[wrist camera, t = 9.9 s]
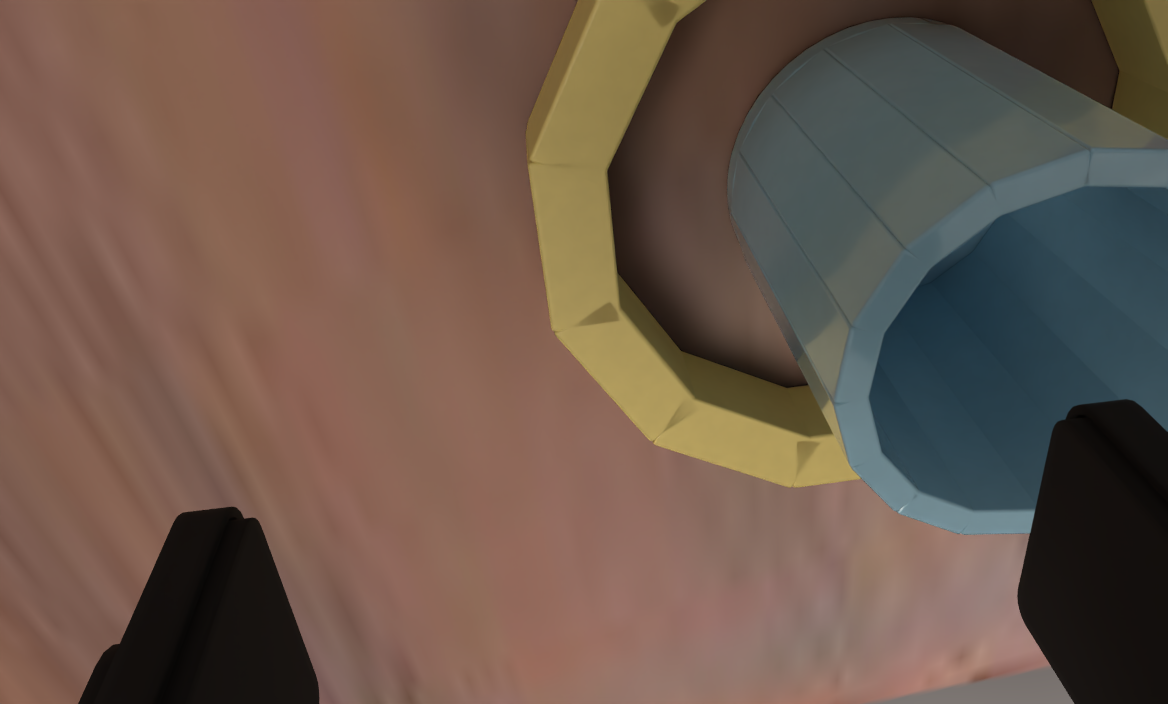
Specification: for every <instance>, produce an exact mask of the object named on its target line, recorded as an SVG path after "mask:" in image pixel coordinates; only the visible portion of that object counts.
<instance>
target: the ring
mask: <svg viewBox="0 0 1168 704" xmlns="http://www.w3.org/2000/svg"><path fill="white" fill-rule="evenodd" d="M705 1H706V0H578V2H577V4H576V6H575V9H574V11H573V14H572V16H571V19H570V21H569V23H568V26H567V28H566V31H565V33H564V35H563V38H562V40H561V43H560V45H559V47H558V50H557V52H556V55H555V57H554V60H553V62H552V64H551V67H550V69H549V72H548V74H547V76H546V79H545V81H544V84H543V86H542V88H541V91H540V93H539V96H538V98H537V101H536V103H535V105H534V108H533V110H532V113H531V115H530V117H529V120H528V122H527V130H526V132H525V134H526V148H527V163H528V171H529V178H530V185H531V192H532V199H533V206H534V213H535V219H536V226H537V233H538V240H539V247H540V254H541V261H542V268H543V274H544V281H545V288H546V295H547V302H548V309H549V316H550V323H551V329H552V330H553V331H554V333H555V335H556V337H557V338H558V339H559V340H560V341H561V342H562V343H563V344H564V346H565V347H566V348H567V349H568V350H569V351H570V352H571V353H572V354H573V356H574V357H575V358H576V359H577V360H578V361H579V362H580V363H581V365H582V366H583V367H584V368H585V369H586V370H587V371H588V372H589V374H590V375H591V376H592V377H593V378H594V379H595V380H596V381H597V382H598V384H599V385H600V386H601V387H602V388H603V389H604V390H605V391H606V393H607V394H608V395H609V396H610V397H611V398H612V399H613V400H614V401H615V403H616V404H617V405H618V406H619V407H620V408H621V409H622V410H623V412H624V413H625V414H626V415H627V416H628V417H629V418H630V419H631V421H632V422H633V423H634V424H635V425H636V426H637V427H638V428H639V429H640V431H641V432H642V433H643V434H644V435H645V436H646V437H647V438H648V439H649V440H650V441H653V444H654V445H657V446H660V447H663V448H666V449H669V450H672V451H676V452H679V453H682V454H685V455H688V456H691V457H694V458H698V459H701V460H704V461H707V462H710V463H713V464H717V465H720V466H723V467H726V468H729V469H732V470H736V471H739V472H742V473H745V474H748V475H751V476H754V477H758V478H761V479H764V480H767V481H770V482H773V483H777V484H780V485H783V486H786V487H789V488H791V487H792V486H793V487H796V488H797V487H804V486H812V485H819V484H827V483H834V482H842V481H849V480H857V479H861V478H860V477H859V476H858V475H857V474H856V473H855V472H854V471H853V470H852V468H851V467H850V465H849V464H848V462H847V460H846V458H845V456H844V454H843V452H842V450H841V448H840V446H839V444H838V442H837V440H836V438H835V436H834V434H833V432H832V430H831V428H830V426H829V424H828V422H827V420H826V418H825V416H824V414H823V412H822V411H821V409H820V407H819V405H818V403H817V401H816V399H815V397H814V395H813V393H812V391H811V389H810V387H809V385H806V386H798V387H790V388H785V387H782V386H779V385H777V384H774V383H771V382H768V381H765V380H762V379H759V378H757V377H754V376H751V375H748V374H745V373H742V372H739V371H737V370H734V369H731V368H728V367H725V366H722V365H719V364H717V363H714V362H711V361H708V360H705V359H702V358H700V357H697V356H694V355H691V354H688V353H685V352H682V351H681V350H680V349H679V348H678V347H677V346H676V344H675V343H674V342H673V341H672V339H671V338H670V337H669V336H668V334H667V333H666V332H665V331H664V330H663V328H662V327H661V326H660V325H659V323H658V322H657V321H656V320H655V318H654V317H653V316H652V315H651V313H650V312H649V311H648V310H647V309H646V307H645V306H644V305H643V304H642V302H641V301H640V300H639V299H638V297H637V296H636V295H635V294H634V292H633V291H632V290H631V289H630V288H629V286H628V285H627V284H626V283H625V281H624V280H623V279H622V278H621V276H620V275H619V274H618V273H617V265H616V255H615V245H614V235H613V225H612V215H611V204H610V194H609V184H608V174H607V170H608V168H609V166H610V164H611V162H612V160H613V157H614V155H615V153H616V151H617V149H618V147H619V145H620V142H621V140H622V138H623V136H624V134H625V132H626V130H627V128H628V125H629V123H630V121H631V119H632V117H633V115H634V113H635V111H636V108H637V106H638V104H639V102H640V100H641V98H642V96H643V94H644V91H645V89H646V87H647V85H648V83H649V81H650V79H651V76H652V74H653V72H654V70H655V68H656V66H657V64H658V62H659V59H660V57H661V55H662V53H663V51H664V49H665V47H666V45H667V42H668V40H669V38H670V36H671V34H672V32H673V30H674V27H675V25H676V23H677V22H678V21H680V20H681V19H682V18H684V17H685V16H686V15H688V14H689V13H690V12H692V11H693V10H694V9H696V8H697V7H698V6H700V5H701V4H702V3H704V2H705ZM1091 1H1092V3H1093V6H1094V8H1095V11H1096V13H1097V16H1098V18H1099V21H1100V23H1101V26H1102V28H1103V31H1104V33H1105V36H1106V38H1107V41H1108V43H1109V46H1110V48H1111V51H1112V53H1113V56H1114V58H1115V61H1116V63H1117V66H1118V68H1119V70H1120V71H1119V76H1118V81H1117V86H1116V92H1115V97H1114V102H1113V107H1112V110H1114V111H1116V112H1118V113H1120V114H1122V115H1123V116H1125V117H1127V118H1129V119H1131V120H1133V121H1135V122H1136V123H1138V124H1140V125H1142V126H1144V127H1146V128H1148V129H1150V130H1151V131H1153V132H1155V133H1157V134H1159V135H1161V136H1163V137H1164V138H1166V139H1168V0H1091Z"/></svg>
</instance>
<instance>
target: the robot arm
mask: <svg viewBox="0 0 1168 704" xmlns="http://www.w3.org/2000/svg"><path fill="white" fill-rule="evenodd" d="M1017 596H1018V605H1019V610H1020V613H1021V616H1022V619H1023V621H1024V623H1025V625H1026V626H1027V628H1028V630H1029V631H1030V633H1031V635H1032V636H1033V638H1034V639H1035V641H1036V643H1037V644H1038V646H1039V647H1040V649H1041V651H1042V652H1043V654H1044V655H1045V657H1046V659H1047V660H1048V662H1049V663H1050V665H1051V667H1052V668H1053V670H1054V671H1055V673H1056V675H1057V676H1058V678H1059V680H1060V681H1061V683H1062V684H1063V686H1064V688H1065V689H1066V691H1067V692H1068V694H1069V696H1070V697H1071V699H1072V700H1073V702H1074V704H1168V432H1167V431H1166V430H1165V429H1164V428H1163V427H1162V426H1161V425H1160V424H1159V423H1158V422H1157V421H1156V420H1155V419H1154V418H1153V417H1152V416H1151V415H1150V414H1149V413H1148V412H1147V411H1146V410H1145V409H1144V408H1143V407H1142V406H1140V405H1139V404H1138V403H1136V402H1135V401H1133V400H1128V399H1122V400H1114V401H1106V402H1097V403H1089V404H1081V405H1077V406H1074V407H1072V408H1071V409H1070V411H1069V412H1068V414H1067V416H1066V419H1065V420H1060V421H1058V422H1057V423H1056V424H1055V425H1054V428H1053V430H1052V434H1051V439H1050V444H1049V448H1048V453H1047V457H1046V462H1045V467H1044V471H1043V476H1042V481H1041V485H1040V490H1039V494H1038V499H1037V504H1036V508H1035V513H1034V518H1033V522H1032V527H1031V532H1030V536H1029V541H1028V545H1027V550H1026V555H1025V559H1024V564H1023V569H1022V573H1021V578H1020V582H1019V587H1018V595H1017ZM78 704H319V687H318V681H317V678H316V674H315V672H314V669H313V666H312V663H311V661H310V658H309V655H308V653H307V650H306V647H305V644H304V642H303V639H302V636H301V634H300V631H299V628H298V625H297V623H296V620H295V617H294V614H293V612H292V609H291V606H290V604H289V601H288V598H287V595H286V593H285V590H284V587H283V584H282V582H281V579H280V576H279V574H278V571H277V568H276V565H275V563H274V560H273V557H272V555H271V552H270V549H269V546H268V544H267V541H266V538H265V535H264V533H263V530H262V527H261V525H260V523H259V521H258V520H257V519H256V518H246V519H244V518H243V516H242V514H241V512H240V511H239V510H238V509H237V508H236V507H226V508H217V509H209V510H201V511H193V512H184V513H182V514H180V515H178V516H177V518H176V520H175V521H174V523H173V525H172V527H171V530H170V532H169V534H168V536H167V539H166V541H165V543H164V545H163V548H162V550H161V552H160V554H159V557H158V559H157V561H156V564H155V566H154V568H153V570H152V573H151V575H150V577H149V579H148V582H147V584H146V586H145V588H144V591H143V593H142V595H141V597H140V600H139V602H138V604H137V606H136V609H135V611H134V613H133V615H132V618H131V620H130V622H129V624H128V627H127V629H126V631H125V634H124V636H123V638H122V640H121V643H120V644H115V645H112V646H111V647H110V648H109V649H107V650H106V651H105V652H104V653H103V655H102V656H101V658H100V660H99V661H98V663H97V664H96V666H95V668H94V670H93V673H92V675H91V677H90V679H89V681H88V684H87V686H86V688H85V690H84V692H83V694H82V697H81V699H80V701H79V703H78Z"/></svg>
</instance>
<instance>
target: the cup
mask: <svg viewBox="0 0 1168 704" xmlns="http://www.w3.org/2000/svg"><path fill="white" fill-rule="evenodd" d="M727 198H728V210H729V214H730V219H731V223H732V227H733V229H734V232H735V235H736V237H737V240H738V242H739V244H740V246H741V249H742V252H743V255H744V259H745V261H746V263H747V265H748V267H749V269H750V271H751V273H752V275H753V277H754V279H755V281H756V283H757V285H758V287H759V289H760V291H761V293H762V295H763V297H764V299H765V301H766V303H767V304H768V306H769V308H770V310H771V312H772V314H773V316H774V318H775V320H776V322H777V324H778V326H779V328H780V330H781V332H782V334H783V336H784V338H785V340H786V342H787V344H788V346H789V348H790V350H791V352H792V354H793V356H794V358H795V359H796V361H797V363H798V365H799V367H800V369H801V371H802V373H803V375H804V377H805V379H806V381H807V383H808V385H809V387H810V389H811V391H812V393H813V395H814V397H815V399H816V401H817V403H818V405H819V407H820V409H821V411H822V412H823V414H824V416H825V418H826V420H827V422H828V424H829V426H830V428H831V430H832V432H833V434H834V436H835V438H836V440H837V442H838V444H839V446H840V448H841V450H842V452H843V454H844V456H845V458H846V460H847V462H848V464H849V465H850V467H851V468H852V470H853V471H854V472H855V473H856V474H857V475H858V476H859V477H860V478H861V479H862V480H863V481H864V482H865V483H866V484H867V485H868V486H869V487H870V488H871V489H872V490H873V491H874V492H875V493H876V494H877V495H878V496H879V497H880V498H881V499H882V500H883V501H884V502H885V503H886V504H887V505H888V506H889V507H890V508H891V509H892V510H894V511H896V512H897V513H899V514H901V515H904V516H907V517H910V518H913V519H916V520H919V521H922V522H924V523H927V524H930V525H933V526H936V527H939V528H942V529H945V530H948V531H951V532H954V533H957V534H960V533H961V534H964V535H975V534H1025V533H1030V532H1031V527H1032V522H1033V518H1034V513H1035V508H1036V504H1037V499H1038V494H1039V490H1040V485H1041V481H1042V476H1043V471H1044V467H1045V462H1046V457H1047V453H1048V448H1049V444H1050V439H1051V434H1052V430H1053V428H1054V425H1055V424H1056V423H1057V422H1058V421H1060V420H1065V419H1066V416H1067V414H1068V412H1069V411H1070V409H1071V408H1072V407H1074V406H1077V405H1081V404H1089V403H1097V402H1106V401H1114V400H1122V399H1128V400H1133V401H1135V402H1136V403H1138V404H1139V405H1140V406H1142V407H1143V408H1144V409H1145V410H1146V411H1147V412H1148V413H1149V414H1150V415H1151V416H1152V417H1153V418H1154V419H1155V420H1156V421H1157V422H1158V423H1159V424H1160V425H1161V426H1162V427H1163V428H1164V429H1165V430H1166V431H1167V432H1168V139H1166V138H1164V137H1163V136H1161V135H1159V134H1157V133H1155V132H1153V131H1151V130H1150V129H1148V128H1146V127H1144V126H1142V125H1140V124H1138V123H1136V122H1135V121H1133V120H1131V119H1129V118H1127V117H1125V116H1123V115H1122V114H1120V113H1118V112H1116V111H1114V110H1112V109H1110V108H1108V107H1107V106H1105V105H1103V104H1101V103H1099V102H1097V101H1095V100H1094V99H1092V98H1090V97H1088V96H1086V95H1084V94H1082V93H1080V92H1079V91H1077V90H1075V89H1073V88H1071V87H1069V86H1067V85H1066V84H1064V83H1062V82H1060V81H1058V80H1056V79H1054V78H1052V77H1051V76H1049V75H1047V74H1045V73H1043V72H1041V71H1039V70H1038V69H1036V68H1034V67H1032V66H1030V65H1028V64H1026V63H1024V62H1023V61H1021V60H1019V59H1017V58H1015V57H1013V56H1011V55H1010V54H1008V53H1006V52H1004V51H1002V50H1000V49H998V48H996V47H995V46H993V45H991V44H989V43H987V42H985V41H983V40H981V39H980V38H978V37H976V36H974V35H972V34H970V33H968V32H967V31H965V30H963V29H961V28H959V27H955V26H953V25H950V24H947V23H943V22H939V21H935V20H931V19H923V18H913V17H903V18H886V19H881V20H875V21H869V22H865V23H862V24H859V25H856V26H853V27H849V28H846V29H844V30H842V31H840V32H837V33H835V34H833V35H831V36H829V37H826V38H825V39H823V40H821V41H820V42H818V43H816V44H815V45H813V46H811V47H810V48H808V49H807V50H805V51H804V52H803V53H801V54H800V55H799V56H797V57H796V58H795V59H794V60H792V61H791V62H790V63H789V64H788V65H787V66H785V67H784V68H783V69H782V70H781V71H780V72H779V73H778V74H777V75H776V76H775V77H774V78H773V79H772V81H771V82H770V83H769V84H768V85H767V87H766V88H765V89H764V90H763V92H762V93H761V94H760V95H759V97H758V98H757V100H756V101H755V103H754V105H753V106H752V108H751V109H750V111H749V112H748V114H747V116H746V118H745V120H744V122H743V124H742V127H741V129H740V131H739V133H738V136H737V139H736V142H735V145H734V148H733V151H732V154H731V159H730V165H729V170H728V181H727Z"/></svg>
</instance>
